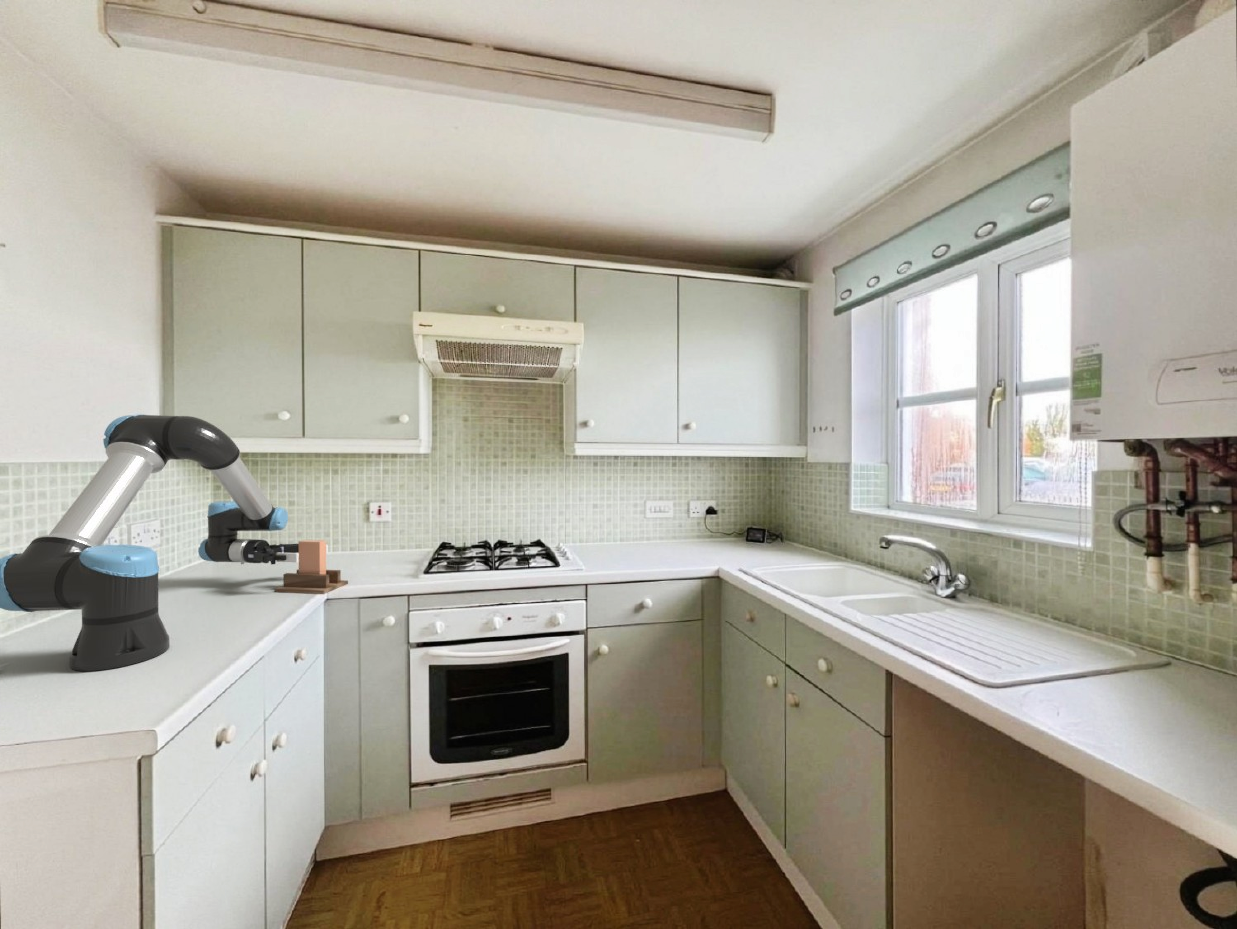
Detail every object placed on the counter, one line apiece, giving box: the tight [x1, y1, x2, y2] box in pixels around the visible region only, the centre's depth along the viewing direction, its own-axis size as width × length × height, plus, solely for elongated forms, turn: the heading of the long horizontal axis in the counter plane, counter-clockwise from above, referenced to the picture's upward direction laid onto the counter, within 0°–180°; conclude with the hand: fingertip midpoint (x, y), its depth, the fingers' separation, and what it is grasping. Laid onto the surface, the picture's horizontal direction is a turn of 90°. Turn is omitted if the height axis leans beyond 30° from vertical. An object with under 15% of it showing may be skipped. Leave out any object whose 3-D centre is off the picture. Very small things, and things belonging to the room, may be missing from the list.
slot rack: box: [274, 568, 349, 595], centre depth 160 cm, size 12×16×5 cm
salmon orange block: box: [298, 539, 327, 574], centre depth 160 cm, size 3×7×14 cm, turn 85°
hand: (313, 553), depth 160 cm, fingers open, 13 cm apart
